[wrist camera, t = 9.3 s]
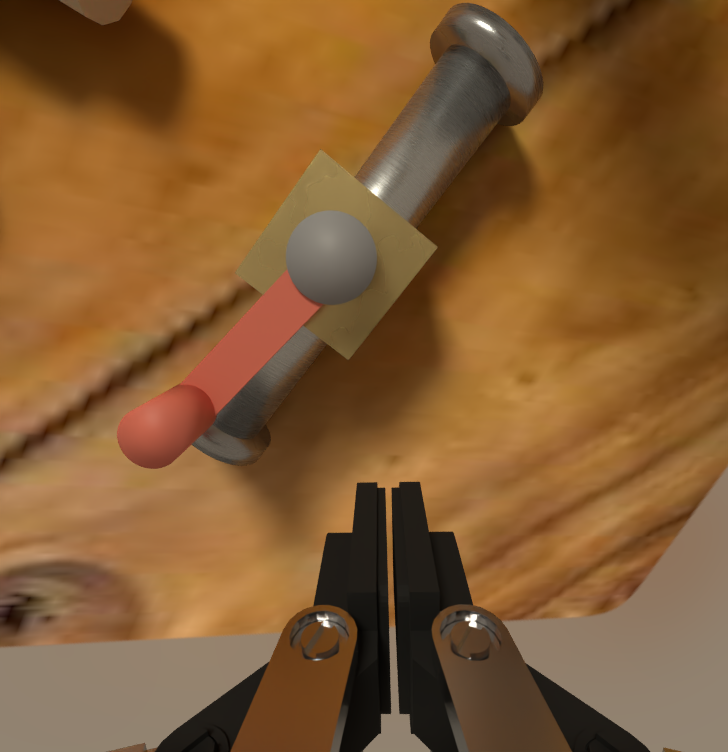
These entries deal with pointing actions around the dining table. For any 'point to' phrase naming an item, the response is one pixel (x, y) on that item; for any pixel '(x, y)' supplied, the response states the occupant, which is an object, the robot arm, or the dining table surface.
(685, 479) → the dining table surface
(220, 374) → the lever
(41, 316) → the dining table surface
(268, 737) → the robot arm
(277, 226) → the valve body
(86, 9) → the butterfly valve
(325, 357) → the dining table surface
